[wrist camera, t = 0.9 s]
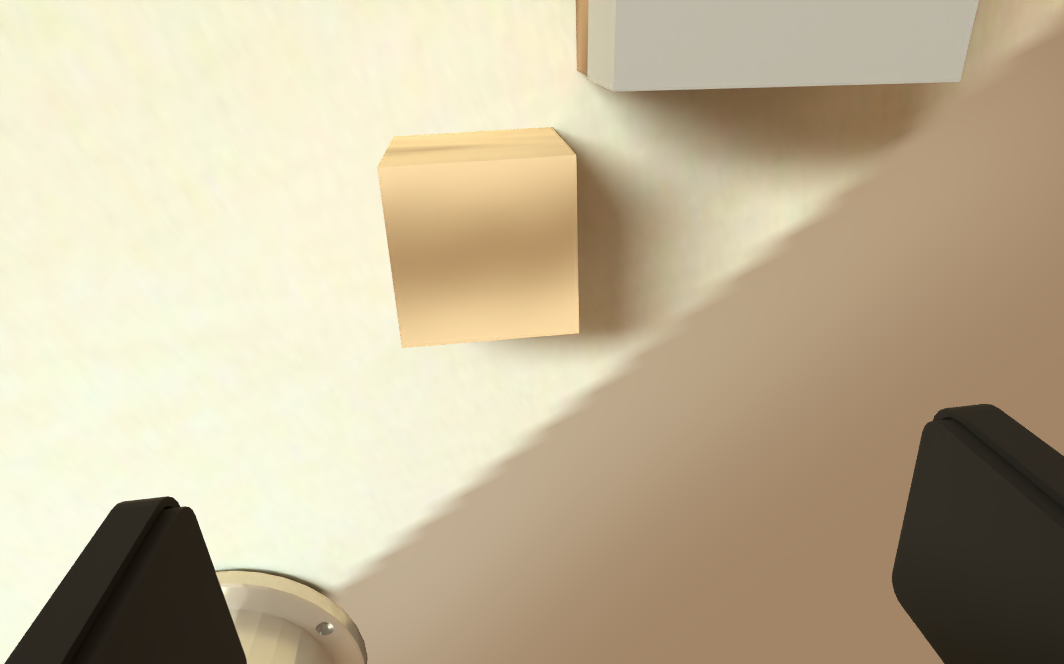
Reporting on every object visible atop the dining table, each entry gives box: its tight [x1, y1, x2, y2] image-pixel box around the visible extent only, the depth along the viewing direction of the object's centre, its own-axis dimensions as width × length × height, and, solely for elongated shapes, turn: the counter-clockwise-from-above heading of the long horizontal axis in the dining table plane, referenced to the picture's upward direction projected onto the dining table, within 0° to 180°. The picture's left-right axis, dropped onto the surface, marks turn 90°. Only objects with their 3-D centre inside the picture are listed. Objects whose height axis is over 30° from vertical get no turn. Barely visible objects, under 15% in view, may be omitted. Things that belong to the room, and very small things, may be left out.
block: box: [377, 127, 579, 348], centre depth 25 cm, size 6×6×6 cm
